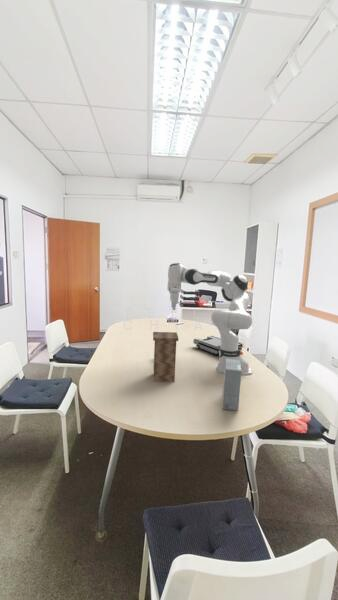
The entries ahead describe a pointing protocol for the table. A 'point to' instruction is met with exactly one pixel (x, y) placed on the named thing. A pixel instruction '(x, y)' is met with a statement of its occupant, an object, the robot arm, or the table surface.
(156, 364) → the walnut stand
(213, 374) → the table surface
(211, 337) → the game console
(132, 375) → the table surface
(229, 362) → the hard drive box
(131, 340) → the table surface
